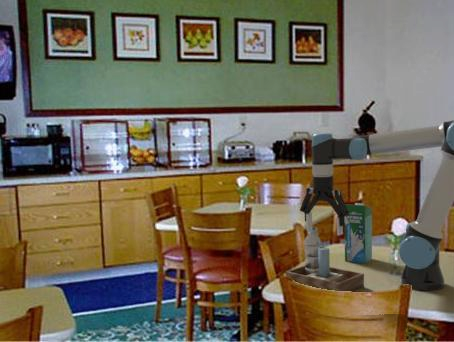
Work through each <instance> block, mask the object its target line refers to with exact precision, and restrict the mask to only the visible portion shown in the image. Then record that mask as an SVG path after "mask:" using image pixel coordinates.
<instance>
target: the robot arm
mask: <svg viewBox="0 0 454 342" xmlns="http://www.w3.org/2000/svg"><path fill="white" fill-rule="evenodd" d="M432 148H433V149H434V148H440V152H441V154H442V159H441V161H440V163H439V166H438V168H437V170H436V173H435V175H434V177H433V180H432V182H431V184H430V187H429V189H428V192H427V194H426V196H425V199H424V202H423V203H422V206H421V208H420V211H419V212H418V215H417V219H416V220H415V221H412V222H409V223H407V224H406V227H405V235H404V237H403V239H402V241H401V242H400V244H399V246H398V255H399V258H400V260H401V261H402V263H403V264H405V265H404V268H403V272H402V274H401V277H400V280H401V281H400V283H401V285H402V284H409V285H412V290H419V291H435V290H440V289H442V288H444V287H445V278H444V275H443V272H442V269H441V267H440V266H441V265H440V246H441V243H442V240H443V238H444V235H443V233H442V229H443V226H444V224H445V222H446V219H447V217H448V215H449V213H450V211H451V208H452V205H453V203H454V119H453V120H449V121H443V122H442V123H441V124H440V125H432V126H427V127H419V128H417V127H416V128H410V129H403V130H396V131H387V132H381V133H380V132H379V133H373V134H365V135H356V136H353V137H348V138H334V137H333V134H332V133H329V132H328V133H325V132H324V133H321V132H320V133H314V134H313V135H312V137H311V158H312V161H311V167H312V169H311V170H312V172H311V173H312V175H313V177H312V186H313V187H312V186H311V187H306V191H305V195H304V198H303V201H302V203H301V206H300V209H299V211H300V212H302V213H304V222H305V223H306V232H308V231H311V230H312V228H313V212H312V210H313V209H314V207H315V206H316V205H317V203H318V202H327V203H328V204H329V205H330V206H331V208H332V209H333V211H334V212H335V214H336V215H337V217H336V236H342V235H344V227H345V216H347V215H349V212H348V209H347V207H346V205H345V204H346V203H345V200H344V198H343V195H342V189H340V188H339V189H334V184H335V183H334V176H333V175H334V161H333V160H355V161H356V160H364V159H365V158H366V157H367V156H371V155H381V154H388V153H397V152H398V153H399V152H407V151H414V150H422V149H423V150H425V149H432ZM313 194H314V195H313Z"/></svg>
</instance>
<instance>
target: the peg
mask: <svg viewBox="0 0 454 342" xmlns="http://www.w3.org/2000/svg"><path fill="white" fill-rule="evenodd" d="M330 262H331V261H330V248H328V247H321V248H319V277H322V278H328V277H330V267H331V266H330Z"/></svg>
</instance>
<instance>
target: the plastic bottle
mask: <svg viewBox="0 0 454 342" xmlns="http://www.w3.org/2000/svg"><path fill="white" fill-rule="evenodd" d="M303 244H304V251H305V264H304V265H305V271H304V273H305V275H309V274H312V273H315V272H317V271H319V248H322V246H321V245H322V241H321V239H320V237H319V236H318V227H317V228H316V227H312V230H311V231H307V235H306V237H305V239H304V240H303Z"/></svg>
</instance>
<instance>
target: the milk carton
mask: <svg viewBox="0 0 454 342" xmlns="http://www.w3.org/2000/svg"><path fill="white" fill-rule="evenodd" d="M345 205H346V207H347V209H348V212H349V215H347V216H345V217H344V262H348V261H350V262H351V263H357V264H366V263H367V262H369V261H370V260H372V258H373V233H372V232H373V228H372V227H373V216H372V215H373V214H372V213H373V211H372V210H373V207H372V206H368V205H365V203H361V202H355V203H354V204H346V203H345Z"/></svg>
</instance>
